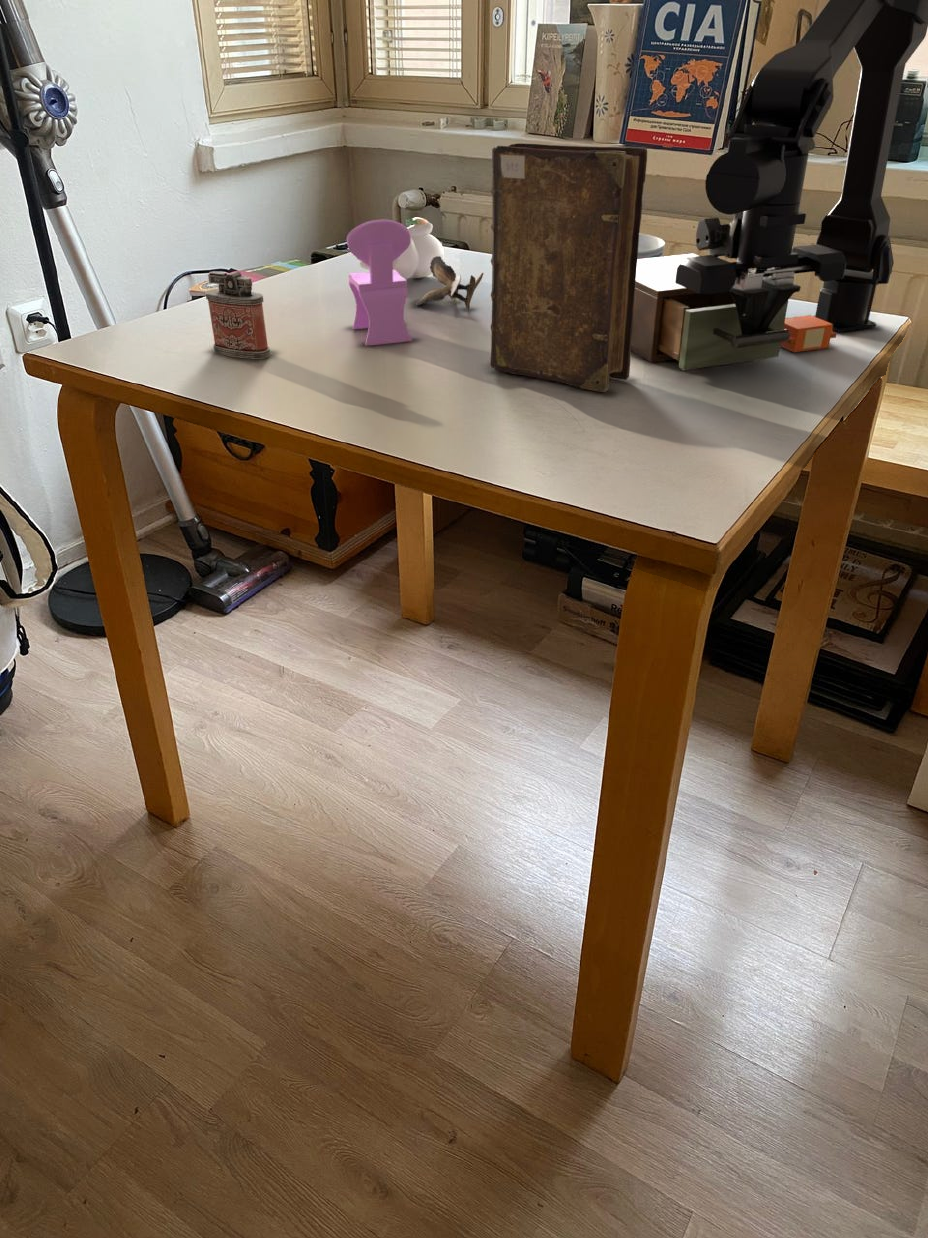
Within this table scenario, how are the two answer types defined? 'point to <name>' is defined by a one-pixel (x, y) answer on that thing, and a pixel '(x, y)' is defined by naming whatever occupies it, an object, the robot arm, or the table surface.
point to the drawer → (714, 332)
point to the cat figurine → (417, 251)
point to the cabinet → (653, 302)
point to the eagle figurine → (449, 284)
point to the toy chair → (379, 280)
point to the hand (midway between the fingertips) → (749, 345)
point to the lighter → (237, 316)
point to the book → (565, 260)
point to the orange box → (807, 333)
